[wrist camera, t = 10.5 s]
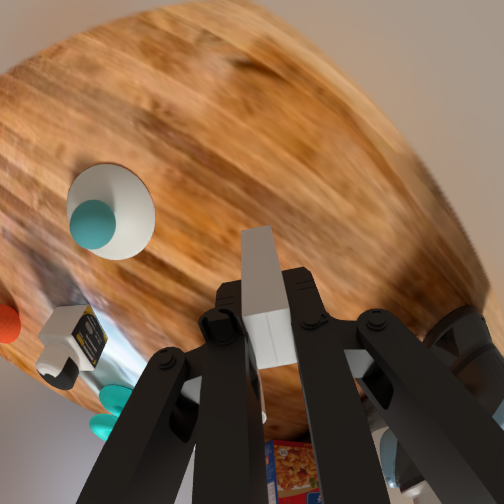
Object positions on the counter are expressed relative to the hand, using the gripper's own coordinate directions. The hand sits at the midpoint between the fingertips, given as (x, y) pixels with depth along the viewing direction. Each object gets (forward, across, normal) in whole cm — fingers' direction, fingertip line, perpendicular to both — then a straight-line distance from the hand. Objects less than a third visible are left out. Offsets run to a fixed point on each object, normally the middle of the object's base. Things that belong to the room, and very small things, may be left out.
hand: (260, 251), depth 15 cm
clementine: (+17, +47, +11) cm, 51 cm away
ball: (+14, +18, 0) cm, 22 cm away
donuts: (+17, +33, +35) cm, 51 cm away
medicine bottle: (+17, +30, +15) cm, 37 cm away
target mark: (+16, +17, 0) cm, 24 cm away
